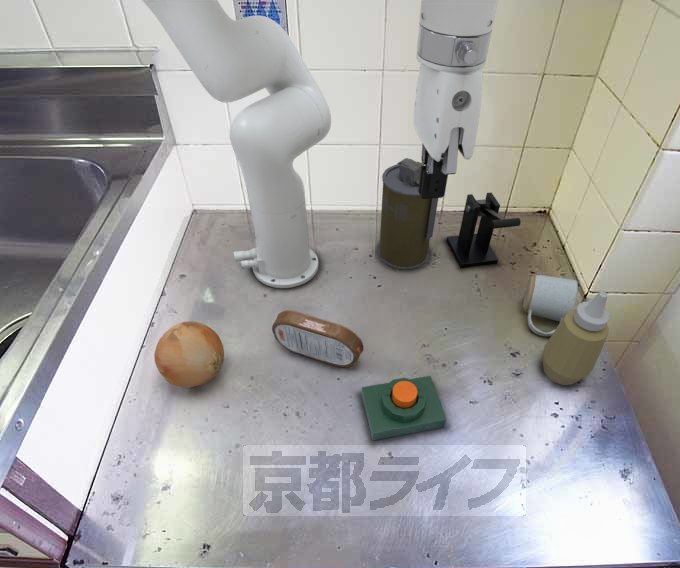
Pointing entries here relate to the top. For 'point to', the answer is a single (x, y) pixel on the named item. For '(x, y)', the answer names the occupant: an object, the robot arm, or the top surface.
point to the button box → (402, 409)
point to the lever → (496, 216)
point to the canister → (405, 217)
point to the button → (404, 394)
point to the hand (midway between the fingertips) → (430, 195)
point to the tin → (317, 338)
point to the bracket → (474, 236)
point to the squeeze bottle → (577, 342)
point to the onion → (189, 354)
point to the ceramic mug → (549, 299)
